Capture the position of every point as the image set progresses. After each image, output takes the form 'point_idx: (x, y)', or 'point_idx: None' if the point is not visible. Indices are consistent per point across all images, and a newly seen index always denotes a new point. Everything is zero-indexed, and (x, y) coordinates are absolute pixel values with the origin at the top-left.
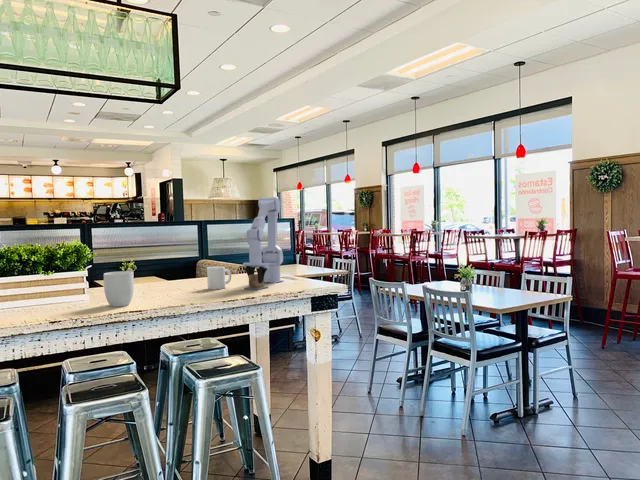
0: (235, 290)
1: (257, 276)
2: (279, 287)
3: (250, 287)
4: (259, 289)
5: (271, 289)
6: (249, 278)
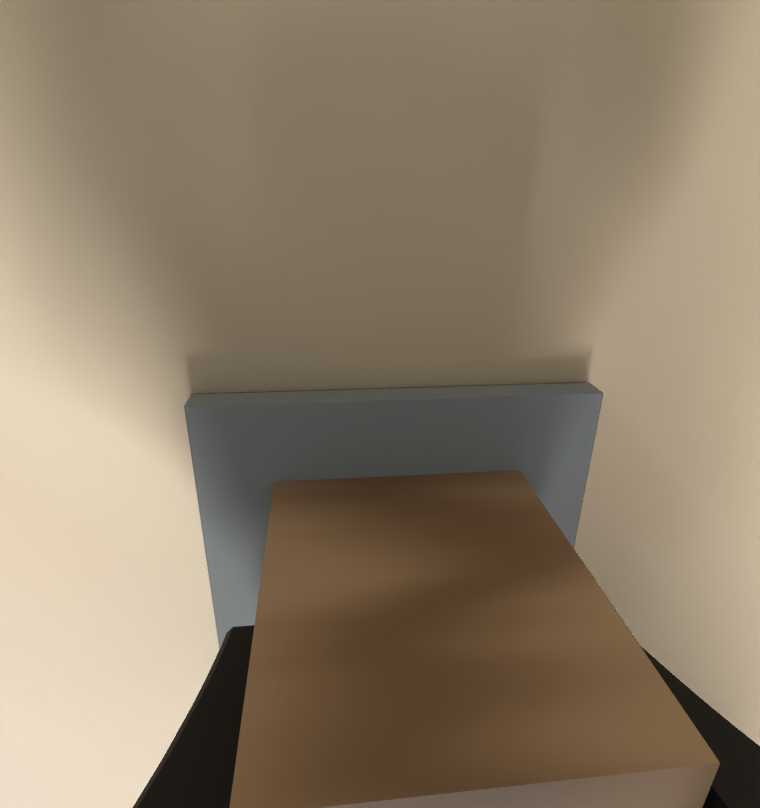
0: (689, 122)
1: (242, 800)
2: (110, 799)
3: (478, 475)
4: (201, 477)
5: (25, 618)
6: (600, 640)
